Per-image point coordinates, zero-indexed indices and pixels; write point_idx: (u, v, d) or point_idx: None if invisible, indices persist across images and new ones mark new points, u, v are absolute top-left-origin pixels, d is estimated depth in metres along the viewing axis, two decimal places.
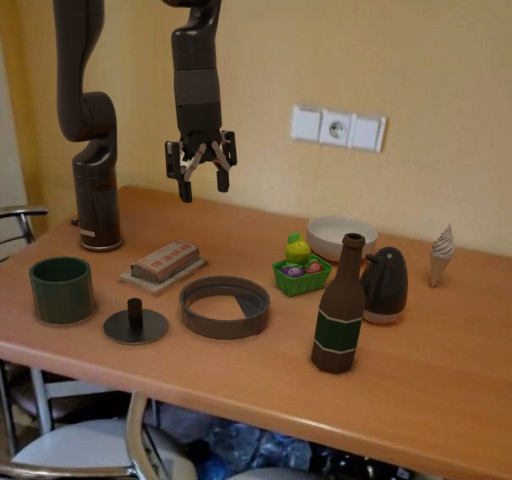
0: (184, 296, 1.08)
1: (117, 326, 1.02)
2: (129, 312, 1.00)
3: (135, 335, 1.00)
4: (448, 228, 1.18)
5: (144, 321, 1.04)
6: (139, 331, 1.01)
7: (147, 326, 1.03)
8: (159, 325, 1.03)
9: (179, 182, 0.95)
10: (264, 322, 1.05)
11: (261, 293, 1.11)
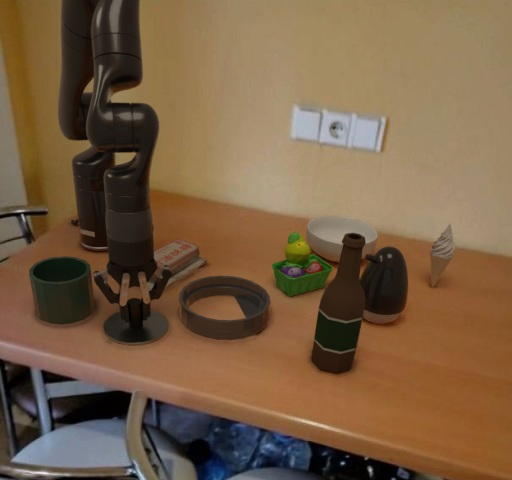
0: (184, 296, 1.08)
1: (117, 326, 1.02)
2: (129, 312, 1.00)
3: (135, 335, 1.00)
4: (448, 228, 1.18)
5: (144, 321, 1.04)
6: (139, 331, 1.01)
7: (147, 326, 1.03)
8: (159, 325, 1.03)
9: None
10: (264, 322, 1.05)
11: (261, 293, 1.11)
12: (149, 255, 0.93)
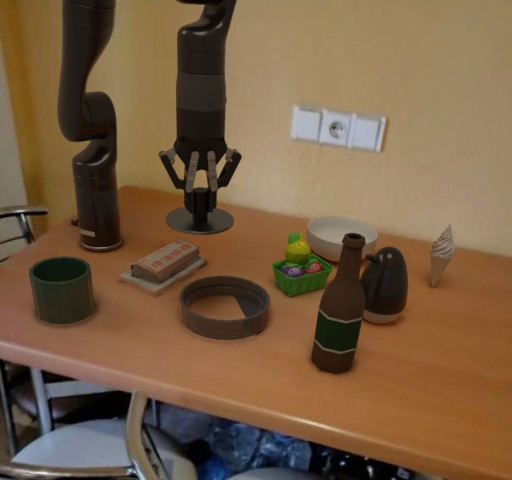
0: (184, 296, 1.08)
1: (180, 218, 0.95)
2: (194, 201, 0.93)
3: (200, 226, 0.93)
4: (448, 228, 1.18)
5: (208, 215, 0.97)
6: (204, 223, 0.94)
7: (212, 219, 0.95)
8: (224, 218, 0.96)
9: (184, 190, 0.92)
10: (264, 322, 1.05)
11: (261, 293, 1.11)
12: (221, 130, 0.86)
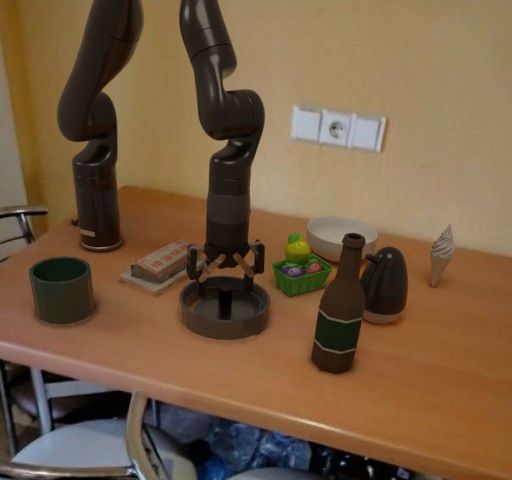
0: (184, 296, 1.08)
1: (207, 311, 1.07)
2: (220, 298, 1.06)
3: (226, 319, 1.06)
4: (448, 228, 1.18)
5: (231, 307, 1.09)
6: (229, 316, 1.07)
7: (235, 311, 1.08)
8: (246, 310, 1.09)
9: (197, 280, 1.03)
10: (264, 322, 1.05)
11: (261, 293, 1.11)
12: (246, 237, 0.98)
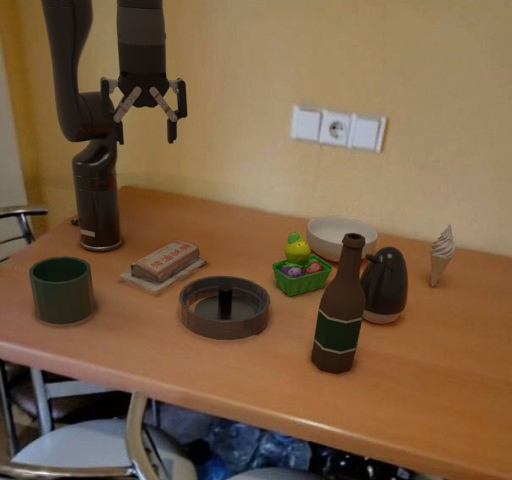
0: (184, 296, 1.08)
1: (207, 311, 1.07)
2: (220, 298, 1.06)
3: (226, 319, 1.06)
4: (448, 228, 1.18)
5: (231, 307, 1.09)
6: (229, 316, 1.07)
7: (235, 311, 1.08)
8: (246, 310, 1.09)
9: (113, 121, 0.95)
10: (264, 322, 1.05)
11: (261, 293, 1.11)
12: (161, 66, 0.90)
